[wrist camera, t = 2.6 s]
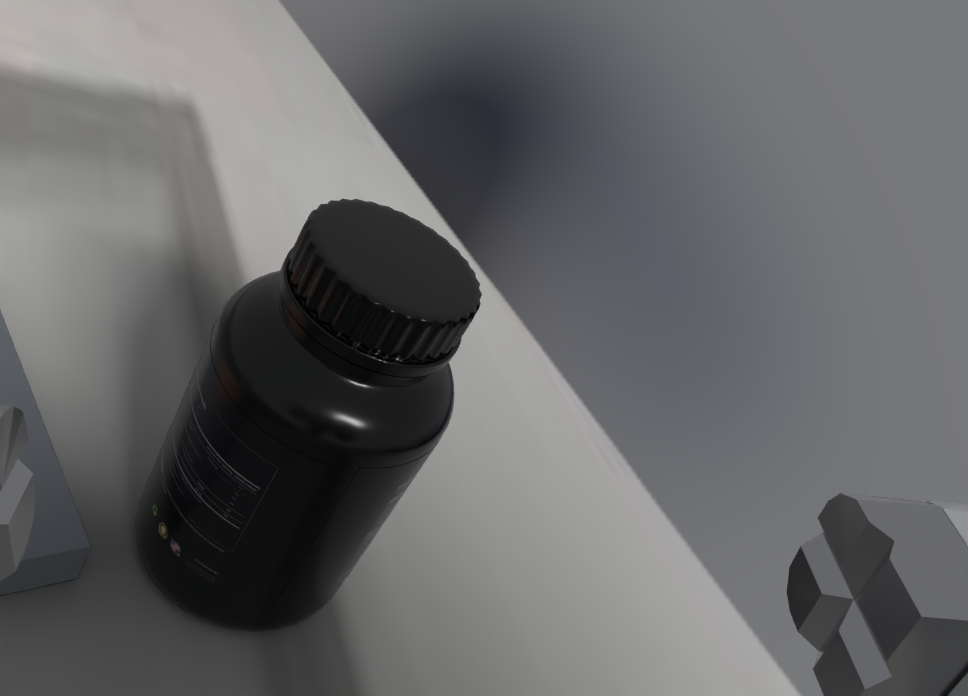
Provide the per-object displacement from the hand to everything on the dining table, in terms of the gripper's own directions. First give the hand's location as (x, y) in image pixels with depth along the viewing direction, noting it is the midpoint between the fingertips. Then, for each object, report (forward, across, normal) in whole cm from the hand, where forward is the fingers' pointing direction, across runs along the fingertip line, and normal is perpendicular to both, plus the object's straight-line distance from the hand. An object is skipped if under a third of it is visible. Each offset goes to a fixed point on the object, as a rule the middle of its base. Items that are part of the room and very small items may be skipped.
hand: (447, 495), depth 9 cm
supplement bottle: (+13, -4, -16) cm, 21 cm away
